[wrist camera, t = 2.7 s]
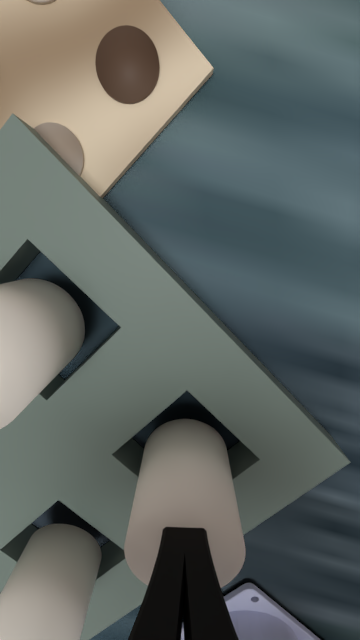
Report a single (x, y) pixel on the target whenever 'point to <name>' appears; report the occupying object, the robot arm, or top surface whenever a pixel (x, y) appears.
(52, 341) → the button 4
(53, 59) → the tile
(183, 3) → the top surface
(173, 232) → the top surface
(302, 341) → the top surface
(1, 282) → the grey-green board with holes
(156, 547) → the beige cylinder
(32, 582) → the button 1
